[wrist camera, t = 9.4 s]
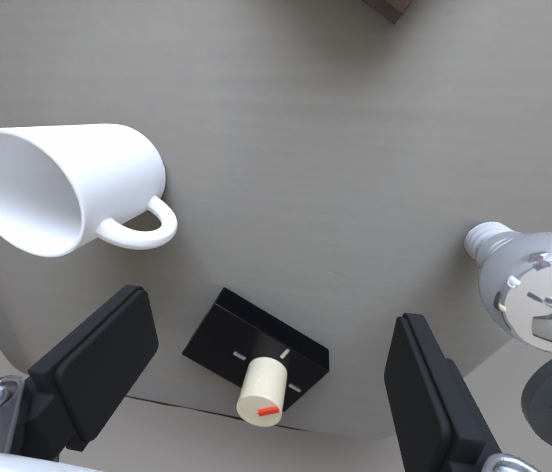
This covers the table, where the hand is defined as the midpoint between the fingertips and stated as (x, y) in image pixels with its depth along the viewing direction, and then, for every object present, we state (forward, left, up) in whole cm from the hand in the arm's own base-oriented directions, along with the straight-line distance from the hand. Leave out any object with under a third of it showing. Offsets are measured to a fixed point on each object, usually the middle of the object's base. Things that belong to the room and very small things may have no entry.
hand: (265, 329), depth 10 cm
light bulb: (-14, -6, -17) cm, 23 cm away
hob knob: (-7, +17, -13) cm, 23 cm away
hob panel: (-5, +17, -17) cm, 24 cm away
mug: (+14, +7, -17) cm, 23 cm away
